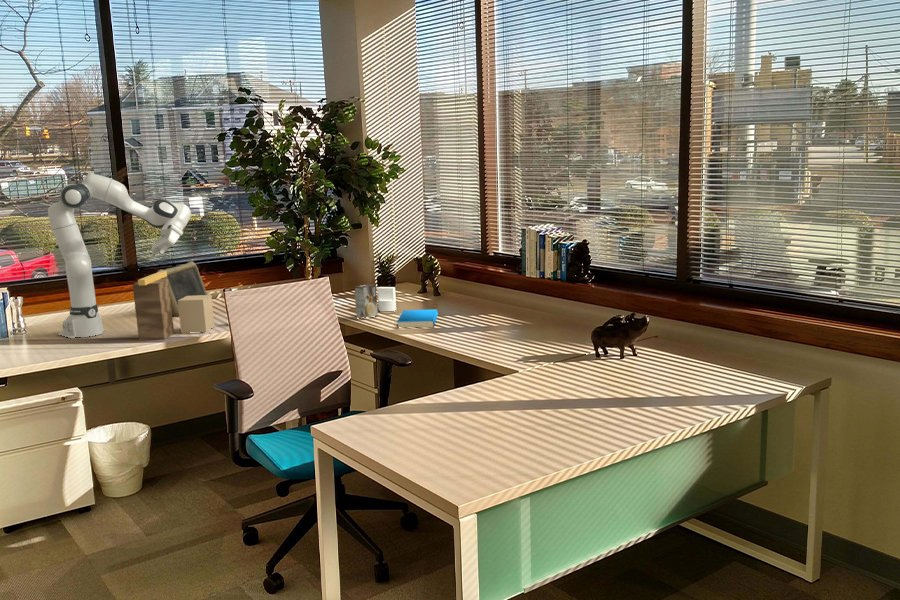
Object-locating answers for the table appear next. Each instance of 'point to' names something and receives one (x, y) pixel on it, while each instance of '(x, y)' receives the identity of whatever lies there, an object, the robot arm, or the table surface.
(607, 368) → the table surface
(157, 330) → the walnut post
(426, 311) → the book
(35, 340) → the table surface
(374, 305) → the coffee box
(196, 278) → the grey open box
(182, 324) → the cardboard box
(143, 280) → the tan wooden beam
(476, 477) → the table surface
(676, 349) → the table surface
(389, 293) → the white recessed box
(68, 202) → the robot arm
